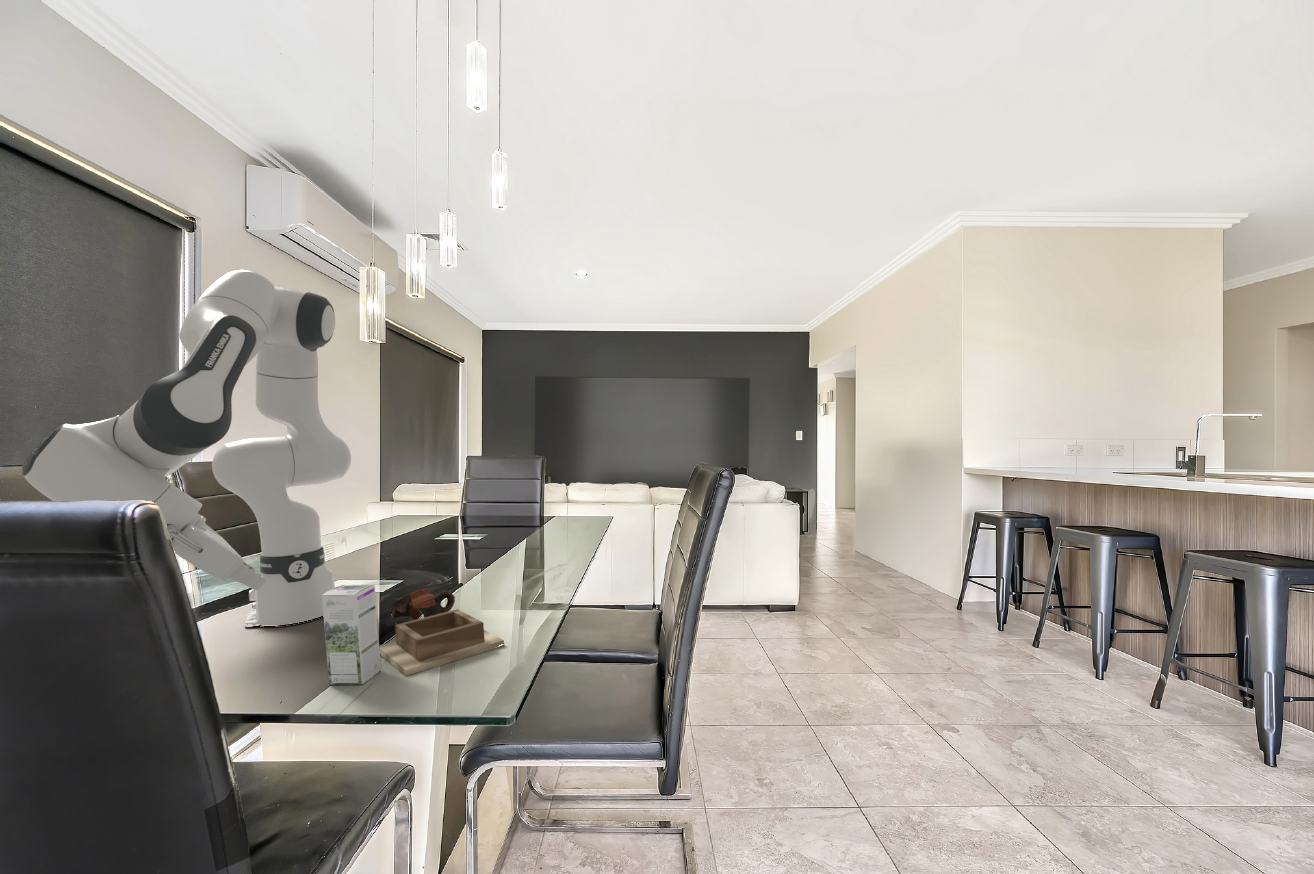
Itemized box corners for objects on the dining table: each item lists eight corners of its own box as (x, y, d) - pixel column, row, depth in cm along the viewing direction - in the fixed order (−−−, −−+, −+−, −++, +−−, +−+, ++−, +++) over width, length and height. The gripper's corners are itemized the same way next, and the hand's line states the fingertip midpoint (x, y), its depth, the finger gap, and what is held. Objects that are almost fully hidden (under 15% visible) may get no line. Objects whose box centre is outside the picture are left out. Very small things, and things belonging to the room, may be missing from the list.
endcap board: (377, 651, 109) (375, 626, 109) (469, 626, 120) (467, 603, 120) (405, 676, 97) (403, 648, 97) (504, 645, 108) (502, 620, 108)
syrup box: (382, 670, 100) (376, 582, 100) (361, 686, 94) (355, 592, 94) (349, 670, 101) (343, 583, 100) (326, 686, 95) (320, 593, 94)
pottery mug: (405, 641, 115) (387, 601, 117) (402, 649, 123) (385, 612, 124) (465, 611, 122) (448, 574, 123) (459, 620, 129) (442, 585, 131)
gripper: (189, 510, 76) (285, 572, 83) (179, 499, 91) (261, 552, 98) (145, 552, 73) (249, 613, 80) (143, 534, 89) (230, 586, 95)
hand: (255, 579), depth 89 cm, fingers open, 8 cm apart
